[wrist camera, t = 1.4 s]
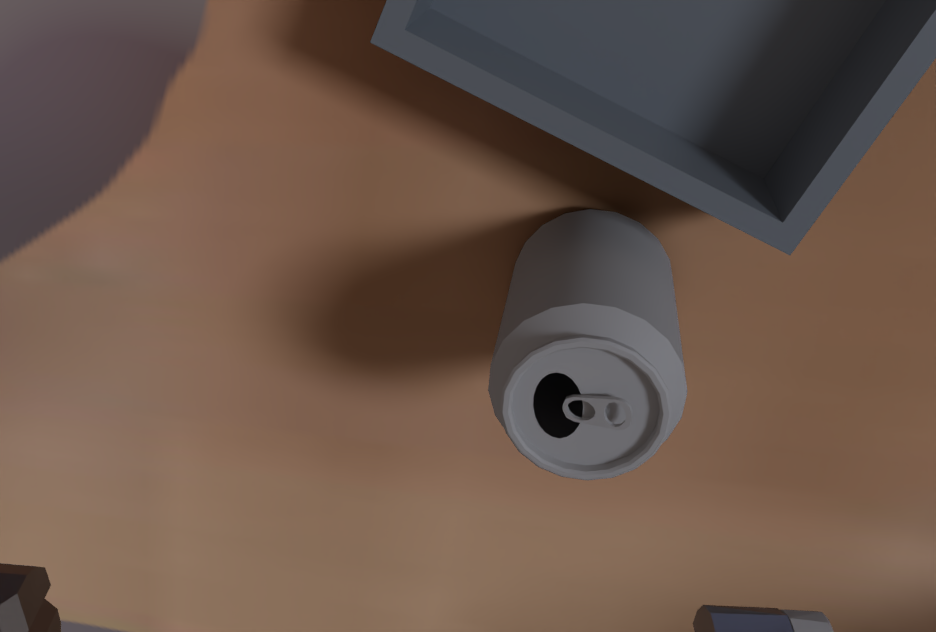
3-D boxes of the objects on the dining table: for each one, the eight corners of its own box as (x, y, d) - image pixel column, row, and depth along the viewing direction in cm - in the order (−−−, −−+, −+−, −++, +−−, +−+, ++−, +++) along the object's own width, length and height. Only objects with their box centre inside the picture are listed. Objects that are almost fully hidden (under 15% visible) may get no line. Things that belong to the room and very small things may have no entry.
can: (509, 204, 41) (473, 326, 31) (673, 199, 40) (693, 324, 30) (519, 343, 45) (490, 495, 34) (670, 343, 44) (687, 500, 33)
